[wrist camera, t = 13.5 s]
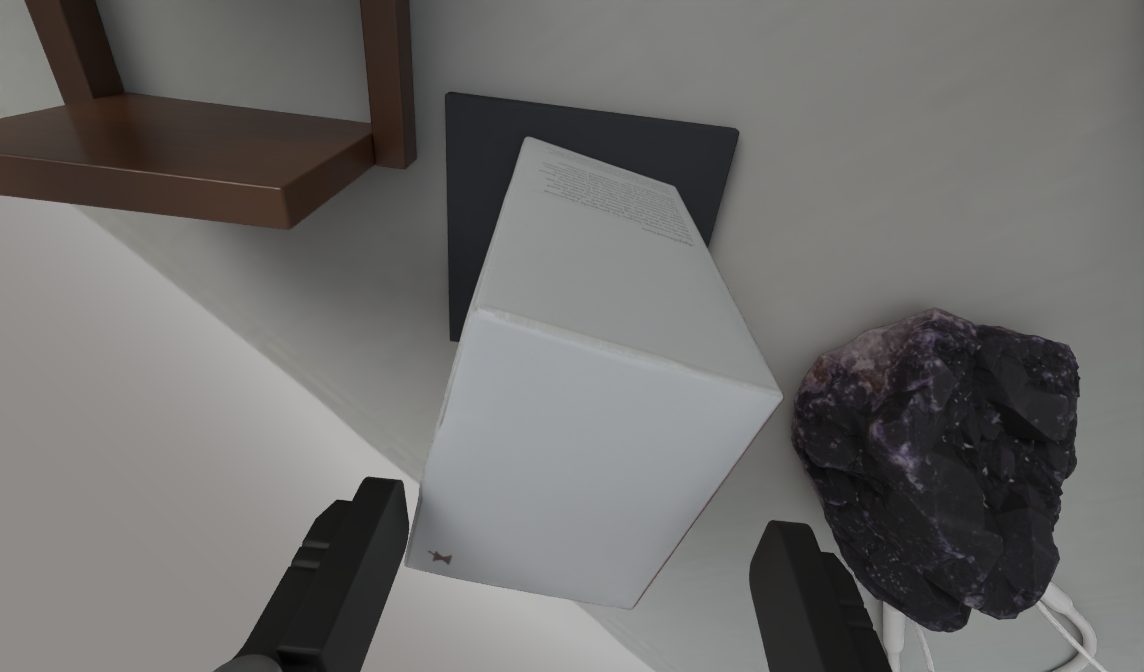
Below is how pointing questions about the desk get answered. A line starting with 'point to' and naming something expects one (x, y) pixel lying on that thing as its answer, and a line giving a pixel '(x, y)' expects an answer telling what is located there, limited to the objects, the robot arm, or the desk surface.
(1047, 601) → the earphone
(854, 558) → the crystal cluster
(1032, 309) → the desk surface
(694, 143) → the mat
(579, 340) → the small box
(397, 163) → the rack
